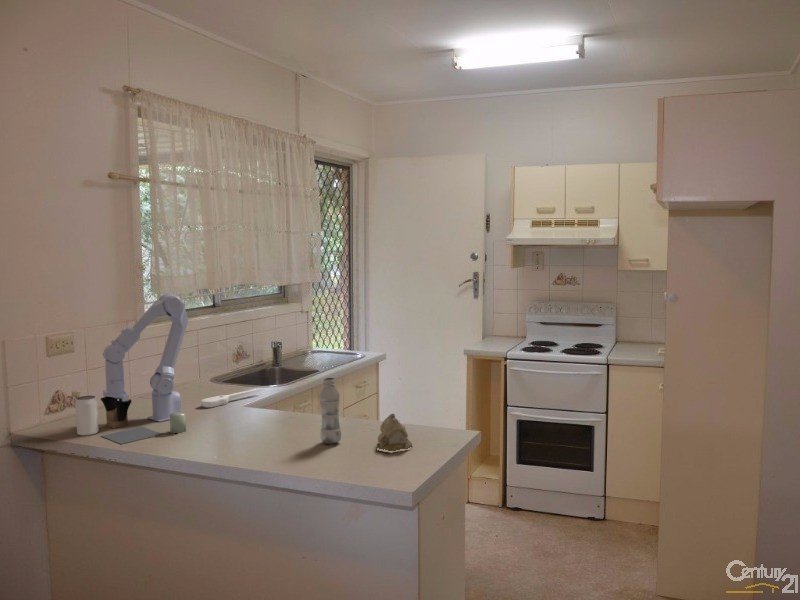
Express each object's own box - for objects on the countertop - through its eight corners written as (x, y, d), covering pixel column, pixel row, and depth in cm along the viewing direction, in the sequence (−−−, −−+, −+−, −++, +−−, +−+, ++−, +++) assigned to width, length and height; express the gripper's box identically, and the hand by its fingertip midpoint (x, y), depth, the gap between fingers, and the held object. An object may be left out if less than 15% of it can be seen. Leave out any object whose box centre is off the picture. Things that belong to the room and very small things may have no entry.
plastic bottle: (325, 447, 207) (323, 382, 205) (317, 441, 213) (315, 378, 211) (344, 444, 210) (343, 379, 208) (336, 438, 216) (335, 376, 214)
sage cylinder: (181, 428, 230) (180, 411, 230) (189, 431, 227) (188, 413, 226) (167, 432, 226) (166, 414, 226) (175, 434, 223) (174, 416, 223)
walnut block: (120, 422, 239) (120, 408, 239) (127, 425, 236) (127, 410, 236) (106, 425, 236) (106, 411, 235) (113, 428, 232) (113, 413, 232)
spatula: (256, 394, 281) (256, 387, 281) (265, 395, 277) (265, 388, 277) (197, 407, 260) (197, 399, 260) (206, 409, 256) (206, 402, 256)
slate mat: (141, 427, 233) (141, 426, 233) (162, 434, 224) (162, 433, 224) (100, 436, 222) (100, 435, 222) (121, 444, 213) (121, 443, 213)
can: (90, 436, 222) (88, 400, 221) (72, 435, 224) (70, 399, 223) (102, 431, 229) (100, 395, 228) (85, 430, 230) (83, 395, 229)
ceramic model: (416, 452, 202) (416, 418, 201) (379, 455, 199) (378, 421, 198) (405, 438, 215) (405, 407, 214) (370, 441, 213) (370, 409, 212)
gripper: (93, 379, 236) (95, 417, 237) (113, 384, 227) (115, 424, 228) (113, 375, 241) (115, 413, 243) (133, 381, 232) (135, 420, 233)
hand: (116, 418), depth 236 cm, fingers open, 7 cm apart
